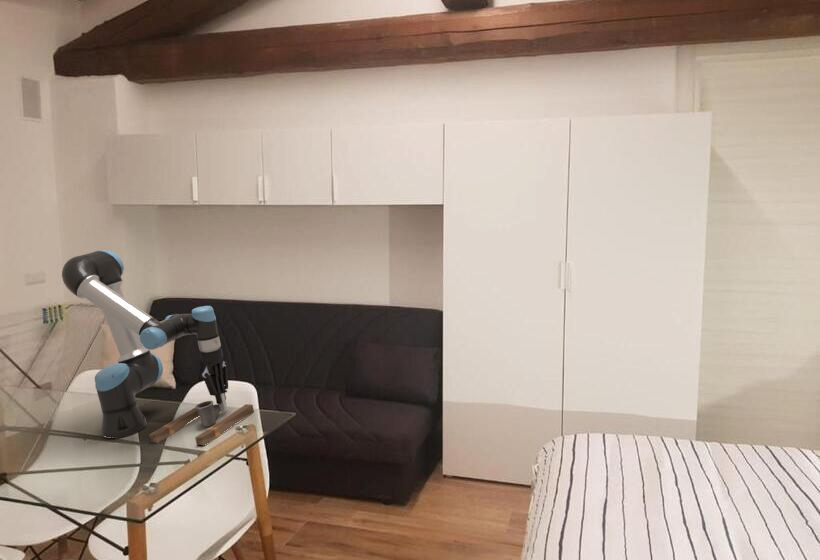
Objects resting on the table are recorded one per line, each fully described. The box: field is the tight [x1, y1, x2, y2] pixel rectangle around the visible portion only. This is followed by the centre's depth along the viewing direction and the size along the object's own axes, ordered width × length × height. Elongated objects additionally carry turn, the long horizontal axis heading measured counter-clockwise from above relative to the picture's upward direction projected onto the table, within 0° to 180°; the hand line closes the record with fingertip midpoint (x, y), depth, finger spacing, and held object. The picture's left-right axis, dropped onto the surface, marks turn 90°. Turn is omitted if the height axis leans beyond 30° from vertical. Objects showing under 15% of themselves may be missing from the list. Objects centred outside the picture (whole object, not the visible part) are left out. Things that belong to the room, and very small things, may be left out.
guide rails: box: [149, 403, 255, 446], centre depth 232 cm, size 23×27×3 cm
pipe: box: [194, 400, 221, 428], centre depth 235 cm, size 6×13×8 cm, turn 176°
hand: (223, 410), depth 242 cm, fingers closed
